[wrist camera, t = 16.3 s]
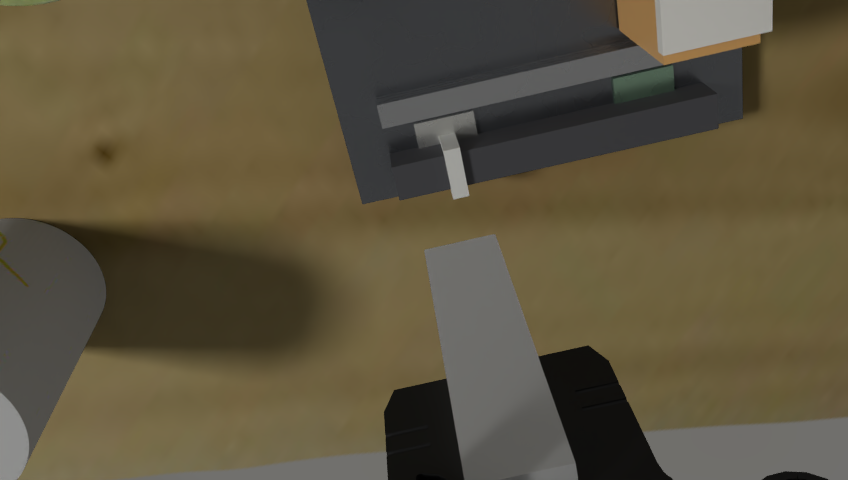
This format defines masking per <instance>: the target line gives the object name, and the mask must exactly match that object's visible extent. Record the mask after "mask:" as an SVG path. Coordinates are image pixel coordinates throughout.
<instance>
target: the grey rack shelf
mask: <svg viewBox="0 0 848 480" xmlns="http://www.w3.org/2000/svg"><path fill="white" fill-rule="evenodd" d="M718 128H719V126H718V94H717V93H716V92H715V91H713V90H712V89H711V88H709V87H708V86H707V85H705V84H704V83H698V84H694V85H690V86H685V87H681V88H676V89H675V90H674V91H670V92H666V93H661V94H657V95H653V96H648V97H644V98H639V99H635V100H631V101H626V102H622V103H617V104H615V103H611V104H606V105H602V106H597V107H593V108H589V109H584V110H580V111H575V112H571V113H567V114H562V115H558V116H553V117H549V118H545V119H540V120H536V121H531V122H527V123H523V124H518V125H514V126H510V127H505V128H501V129H496V130H492V131H488V132H483V133H479V134H478V135H477V136H472V137H468V138H464V139H459V140H457V138H456V135H455V133H452V134H447V135H443V136H439V138H440V143H441V144H437V145H433V146H428V147H424V148H420V149H419V147H417V148H413V149H408V150H404V151H400V152H395V153H391V154H390V160H391V168H392V172H393V176H394V180H395V184H396V188H397V192H398V196H399V200H404V199H408V198H413V197H417V196H421V195H426V194H430V193H435V192H439V191H444V190H448V189H451V192H452V196H453V199H457V198H462V197H466V196H469V191H468V186H467V185H470V184H475V183H479V182H483V181H488V180H492V179H497V178H501V177H506V176H510V175H514V174H519V173H523V172H528V171H532V170H536V169H541V168H545V167H550V166H554V165H559V164H563V163H567V162H572V161H576V160H581V159H585V158H590V157H594V156H598V155H603V154H607V153H612V152H616V151H621V150H625V149H629V148H634V147H638V146H643V145H647V144H652V143H656V142H660V141H665V140H669V139H674V138H678V137H682V136H687V135H691V134H696V133H700V132H705V131H709V130H713V129H718Z"/></svg>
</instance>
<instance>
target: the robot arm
mask: <svg viewBox="0 0 848 480" xmlns="http://www.w3.org/2000/svg"><path fill="white" fill-rule="evenodd" d="M424 251H425V257H426V263H427V268H428V274H429V280H430V286H431V291H432V297H433V303H434V309H435V314H436V320H437V326H438V331H439V337H440V343H441V349H442V354H443V360H444V366H445V372H446V377H447V379H443V380H438V381H434V382H429V383H424V384H420V385H415V386H411V387H406V388H402V389H397V390H394V392H393V394H392V396H391V398H390V400H389V403H388V405H387V407H386V409H385V411H384V419H385V434H386V452H387V470H388V480H672V478H671V477H669V476H668V475H666V474H665V473H664V472H663V470H662V469H661V467H660V466H659V465H658V463H657V461H656V459H655V457H654V455H653V453H652V451H651V449H650V446H649V444H648V442H647V441H646V438H645V436H644V434H643V432H642V430H641V428H640V426H639V423H638V421H637V419H636V417H635V415H634V413H633V411H632V409H631V407H630V405H629V403H628V402H627V400H626V396H625V394H624V392H623V390H622V388H621V386H620V385H619V383H618V380H617V378H616V375H615V373H614V371H613V369H612V367H611V365H610V363H609V361H608V360H607V359H605V358H604V357H603V356H602V355H600V354H599V353H598V352H596V351H595V350H594V349H592V348H591V347H590V346H584V347H579V348H575V349H570V350H566V351H561V352H557V353H552V354H548V355H543V356H538V355H537V352H536V349H535V346H534V343H533V340H532V338H531V335H530V332H529V329H528V326H527V323H526V321H525V318H524V315H523V312H522V309H521V306H520V304H519V301H518V298H517V295H516V292H515V289H514V286H513V284H512V281H511V278H510V275H509V272H508V269H507V267H506V264H505V261H504V258H503V255H502V252H501V250H500V247H499V244H498V241H497V238H496V235H495V234H493V235H489V236H484V237H480V238H475V239H471V240H466V241H462V242H457V243H453V244H448V245H444V246H440V247H435V248H431V249H426V250H424ZM763 480H828V479H825V478H822V477H819V476H816V475H813V474H810V473H807V472H781V473H778V474H773V475H769V476H767V477H765V478H764V479H763Z"/></svg>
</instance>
